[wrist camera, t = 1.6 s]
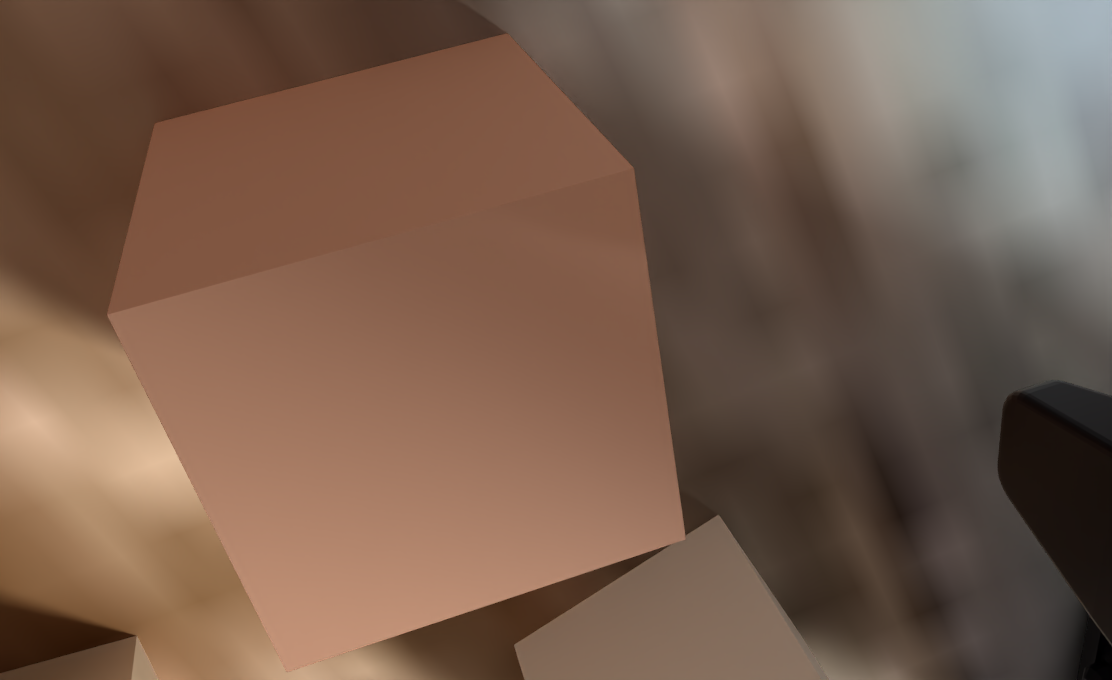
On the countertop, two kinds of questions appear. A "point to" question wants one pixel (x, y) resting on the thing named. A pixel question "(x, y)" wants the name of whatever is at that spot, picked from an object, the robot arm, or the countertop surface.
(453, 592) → the terracotta block
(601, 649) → the cream block
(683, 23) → the countertop surface
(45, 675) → the beige block
